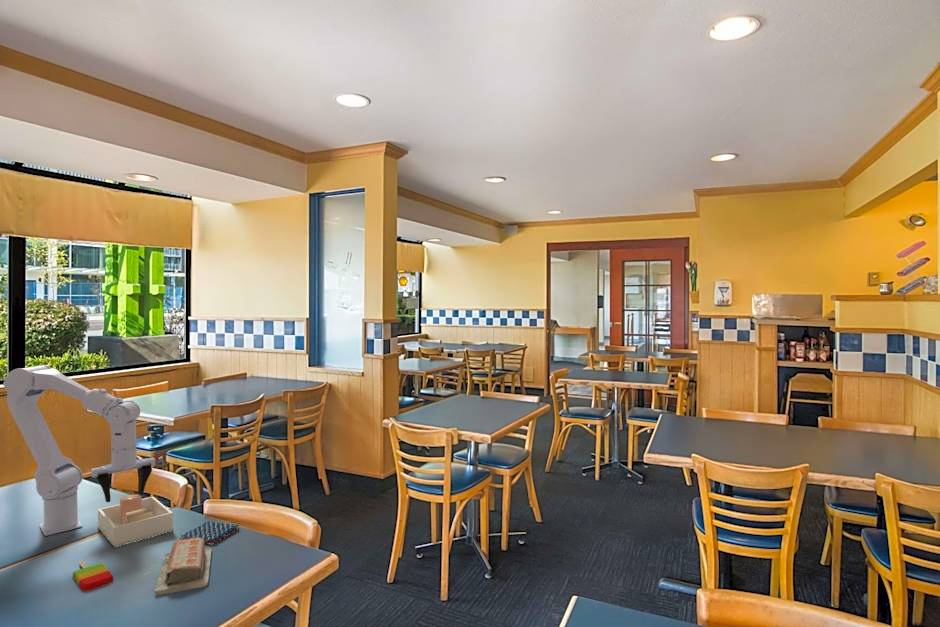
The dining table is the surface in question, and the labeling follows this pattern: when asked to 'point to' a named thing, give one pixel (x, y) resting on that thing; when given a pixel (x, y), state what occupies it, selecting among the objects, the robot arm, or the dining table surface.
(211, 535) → the woven mat
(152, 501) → the tote
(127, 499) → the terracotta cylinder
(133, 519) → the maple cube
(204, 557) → the packaged product
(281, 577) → the dining table surface
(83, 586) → the popsicle
